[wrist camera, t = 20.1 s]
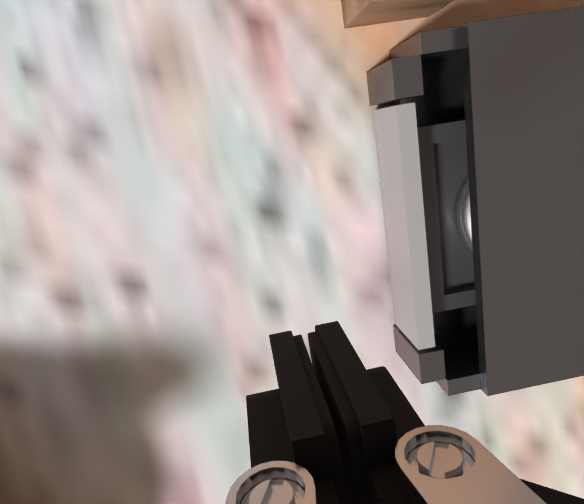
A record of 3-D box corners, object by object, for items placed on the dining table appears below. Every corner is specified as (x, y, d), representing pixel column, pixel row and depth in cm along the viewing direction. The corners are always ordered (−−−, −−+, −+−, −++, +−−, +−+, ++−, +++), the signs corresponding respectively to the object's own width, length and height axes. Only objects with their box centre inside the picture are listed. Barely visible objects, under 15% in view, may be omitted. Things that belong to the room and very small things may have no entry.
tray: (372, 110, 27) (396, 105, 23) (586, 77, 28) (641, 67, 25) (395, 323, 31) (418, 350, 27) (585, 286, 32) (634, 306, 28)
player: (364, 53, 27) (396, 32, 22) (604, 19, 28) (688, -9, 23) (397, 364, 32) (429, 408, 27) (600, 323, 33) (669, 357, 28)
